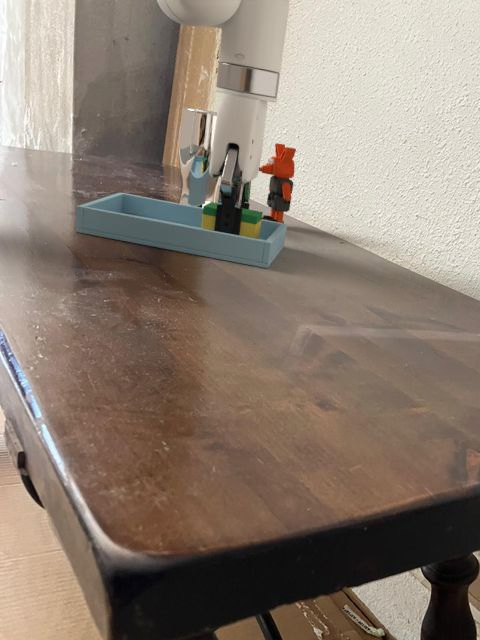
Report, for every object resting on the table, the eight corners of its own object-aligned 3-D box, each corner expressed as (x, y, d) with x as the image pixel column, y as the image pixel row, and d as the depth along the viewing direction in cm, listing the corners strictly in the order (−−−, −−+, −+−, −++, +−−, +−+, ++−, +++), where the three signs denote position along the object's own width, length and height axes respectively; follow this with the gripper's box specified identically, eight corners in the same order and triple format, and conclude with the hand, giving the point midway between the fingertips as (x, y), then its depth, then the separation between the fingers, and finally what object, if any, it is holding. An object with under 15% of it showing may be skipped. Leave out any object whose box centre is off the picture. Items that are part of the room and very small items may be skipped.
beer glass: (185, 221, 108) (196, 111, 102) (164, 211, 113) (173, 105, 107) (227, 224, 112) (239, 117, 106) (205, 213, 117) (216, 111, 111)
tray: (75, 232, 90) (76, 205, 89) (118, 215, 104) (120, 192, 103) (267, 268, 90) (271, 242, 88) (284, 246, 104) (287, 224, 103)
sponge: (200, 237, 96) (203, 206, 95) (207, 232, 101) (211, 201, 99) (252, 247, 96) (257, 216, 95) (258, 242, 100) (262, 212, 99)
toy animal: (243, 217, 120) (253, 138, 115) (274, 220, 122) (285, 144, 117) (258, 228, 113) (269, 145, 109) (291, 231, 116) (303, 150, 111)
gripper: (230, 81, 99) (215, 220, 106) (201, 76, 83) (186, 240, 91) (286, 91, 99) (267, 230, 106) (267, 88, 83) (246, 251, 90)
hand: (230, 233), depth 98 cm, fingers closed on sponge, 4 cm apart
